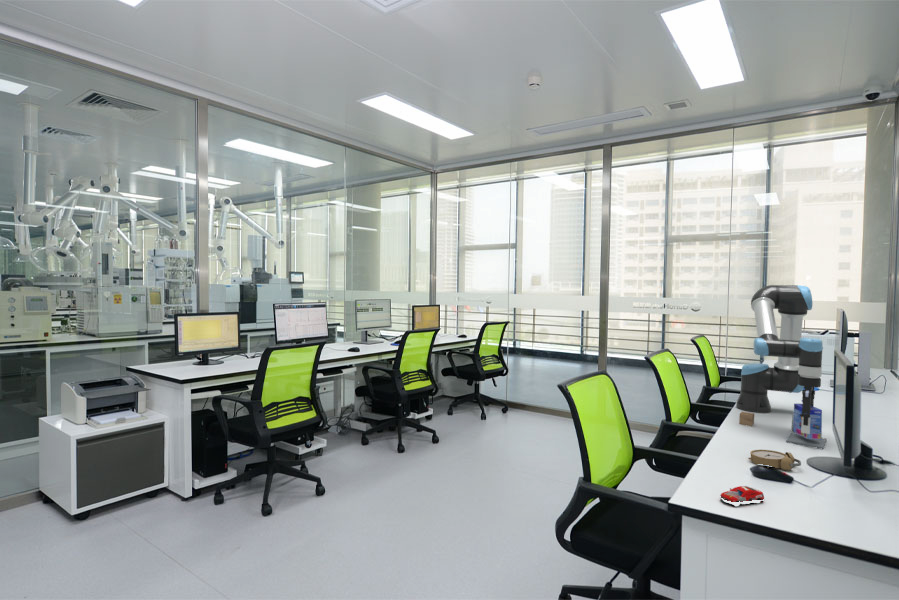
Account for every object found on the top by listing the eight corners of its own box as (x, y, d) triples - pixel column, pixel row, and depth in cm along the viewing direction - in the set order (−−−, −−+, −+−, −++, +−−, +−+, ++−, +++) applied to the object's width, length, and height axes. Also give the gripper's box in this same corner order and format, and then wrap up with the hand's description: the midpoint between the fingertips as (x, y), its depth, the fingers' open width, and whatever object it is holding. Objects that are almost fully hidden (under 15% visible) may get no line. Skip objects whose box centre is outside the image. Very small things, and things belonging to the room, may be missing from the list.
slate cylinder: (792, 429, 211) (792, 413, 211) (806, 431, 208) (806, 416, 208) (790, 431, 208) (791, 416, 208) (804, 434, 204) (805, 418, 204)
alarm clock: (752, 447, 178) (801, 450, 168) (754, 461, 178) (804, 464, 168) (746, 455, 170) (797, 459, 160) (748, 469, 169) (800, 474, 159)
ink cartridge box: (791, 431, 200) (793, 397, 199) (806, 432, 199) (807, 398, 199) (807, 439, 190) (808, 403, 190) (822, 440, 190) (823, 404, 189)
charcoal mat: (790, 434, 204) (790, 432, 204) (826, 441, 196) (826, 439, 196) (786, 442, 194) (786, 440, 194) (823, 449, 186) (823, 447, 186)
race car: (730, 508, 135) (731, 495, 135) (715, 500, 141) (716, 487, 140) (768, 504, 139) (768, 490, 138) (751, 495, 144) (752, 482, 144)
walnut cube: (741, 422, 222) (741, 411, 222) (754, 424, 219) (754, 413, 218) (739, 424, 218) (739, 413, 218) (751, 426, 215) (752, 415, 215)
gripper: (801, 371, 205) (798, 422, 206) (794, 378, 188) (792, 434, 189) (823, 373, 200) (820, 425, 201) (818, 381, 183) (815, 438, 184)
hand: (806, 430), depth 195 cm, fingers closed on ink cartridge box, 10 cm apart
